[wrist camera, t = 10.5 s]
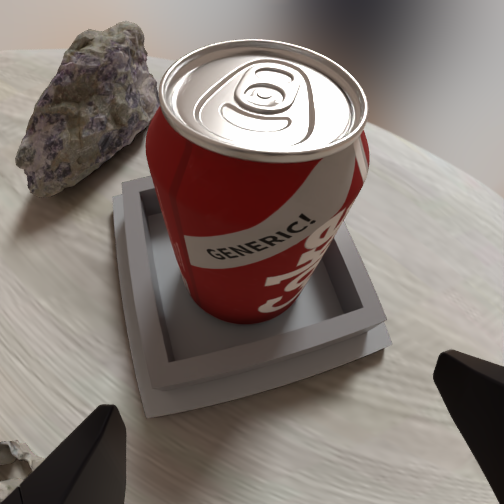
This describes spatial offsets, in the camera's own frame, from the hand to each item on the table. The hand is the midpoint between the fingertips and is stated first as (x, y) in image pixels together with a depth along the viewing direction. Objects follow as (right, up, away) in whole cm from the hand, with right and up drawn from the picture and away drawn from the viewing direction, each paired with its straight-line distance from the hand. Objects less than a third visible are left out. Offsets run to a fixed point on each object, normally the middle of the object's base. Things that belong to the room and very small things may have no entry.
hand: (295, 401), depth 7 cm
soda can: (-2, +3, +11) cm, 11 cm away
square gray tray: (-2, +3, +12) cm, 12 cm away
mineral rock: (-14, +13, +17) cm, 26 cm away
